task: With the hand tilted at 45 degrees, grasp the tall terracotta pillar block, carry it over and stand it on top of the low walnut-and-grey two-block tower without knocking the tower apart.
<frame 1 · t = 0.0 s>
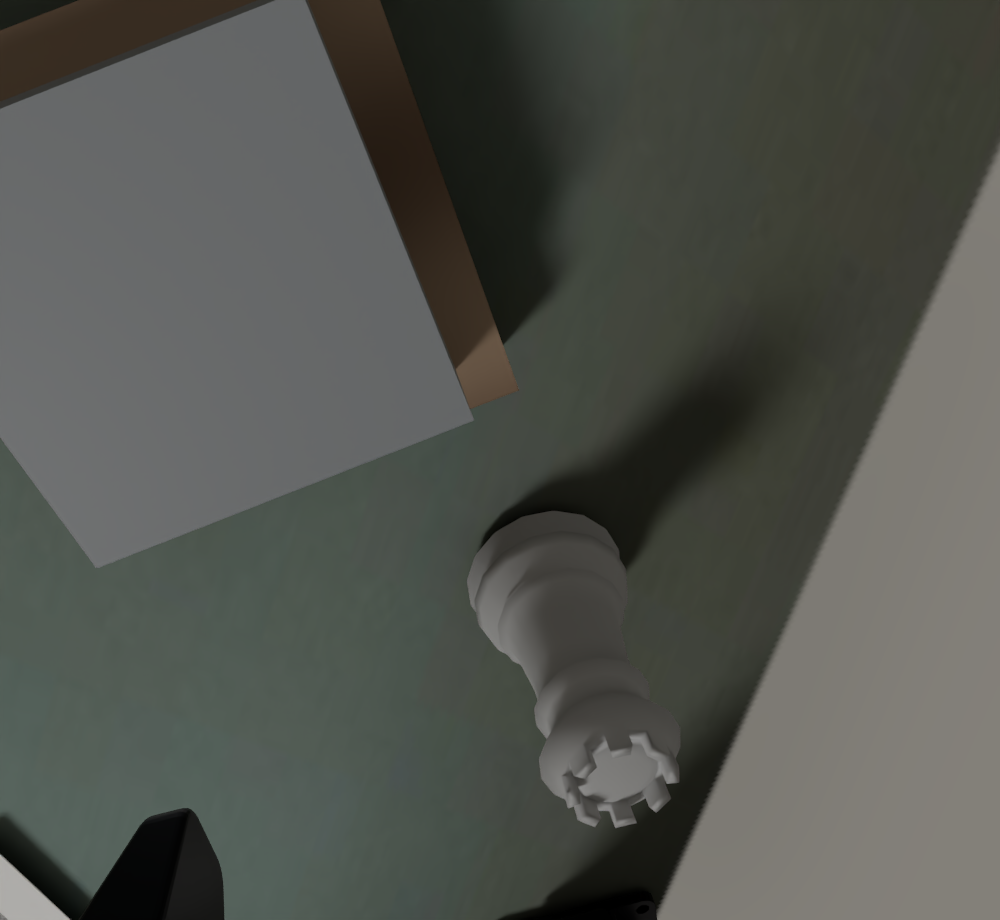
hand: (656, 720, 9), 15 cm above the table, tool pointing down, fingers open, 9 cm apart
tower top: (198, 272, 18), point 2 cm above the table, touching tower base
rook chess piece: (539, 563, 27), on the table
tower base: (219, 228, 21), on the table, touching tower top
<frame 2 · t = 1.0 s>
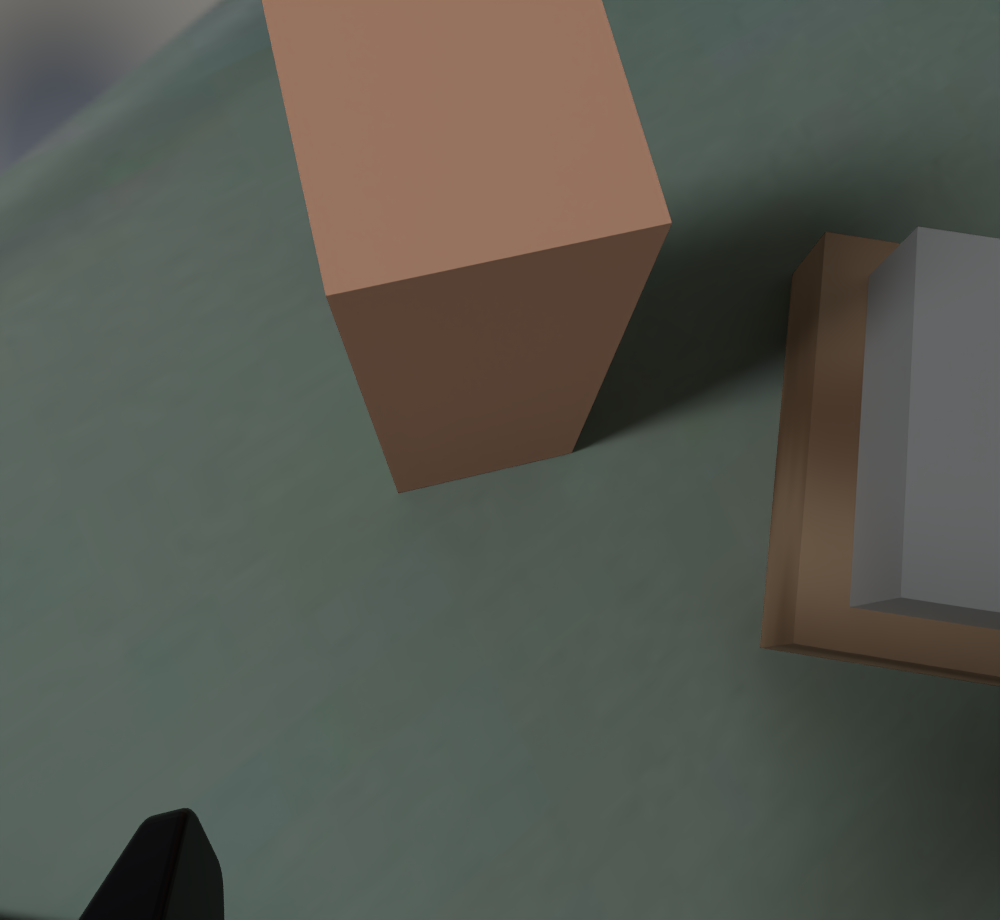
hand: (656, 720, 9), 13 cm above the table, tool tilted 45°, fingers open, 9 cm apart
pillar: (465, 390, 24), on the table
tower base: (958, 487, 24), on the table, touching tower top
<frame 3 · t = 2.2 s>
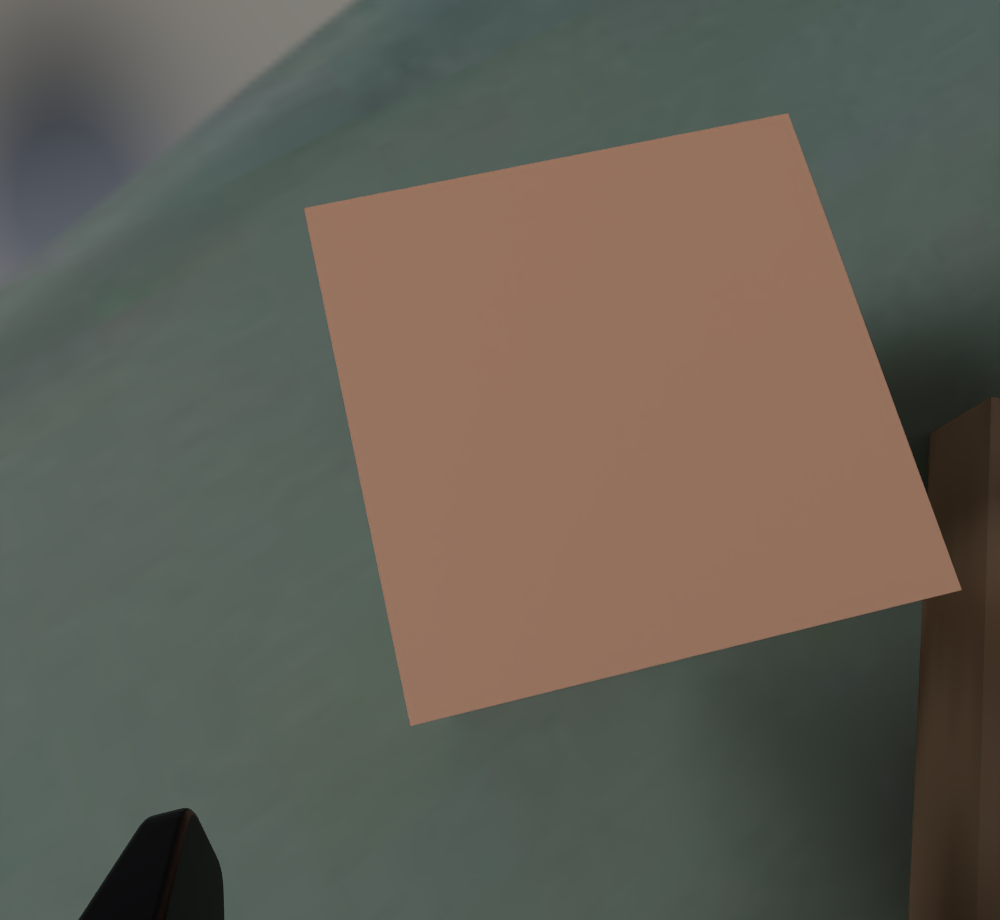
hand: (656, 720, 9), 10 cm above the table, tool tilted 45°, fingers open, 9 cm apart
pillar: (532, 581, 19), on the table
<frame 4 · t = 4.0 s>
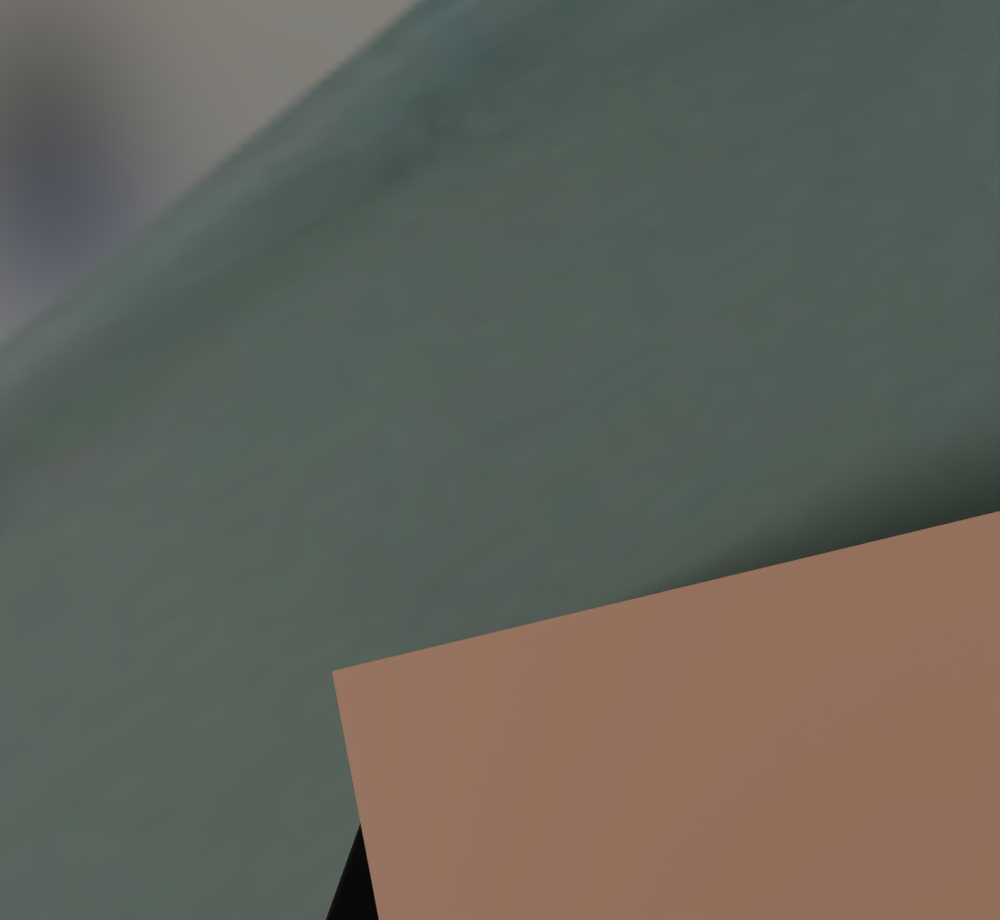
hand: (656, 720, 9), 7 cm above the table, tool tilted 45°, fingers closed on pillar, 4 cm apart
pillar: (602, 797, 15), on the table, touching gripper
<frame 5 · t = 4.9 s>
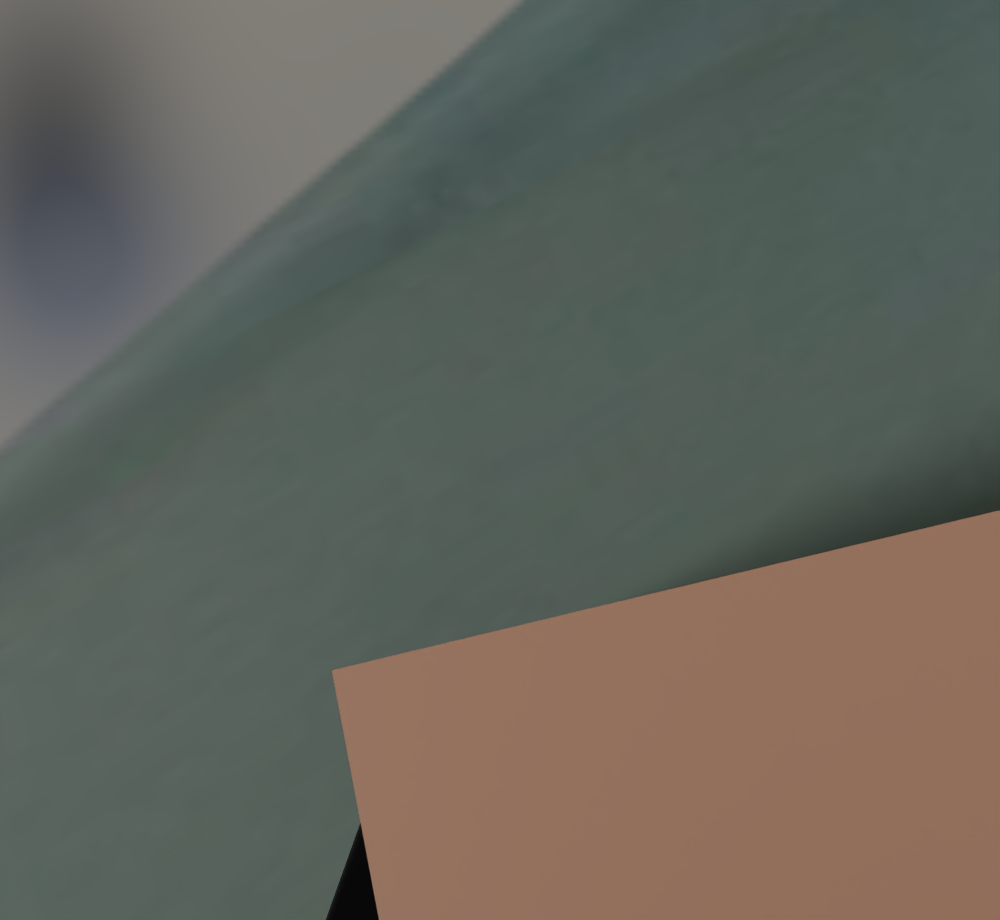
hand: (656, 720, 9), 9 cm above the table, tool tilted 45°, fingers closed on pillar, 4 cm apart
pillar: (601, 797, 15), point 3 cm above the table, touching gripper
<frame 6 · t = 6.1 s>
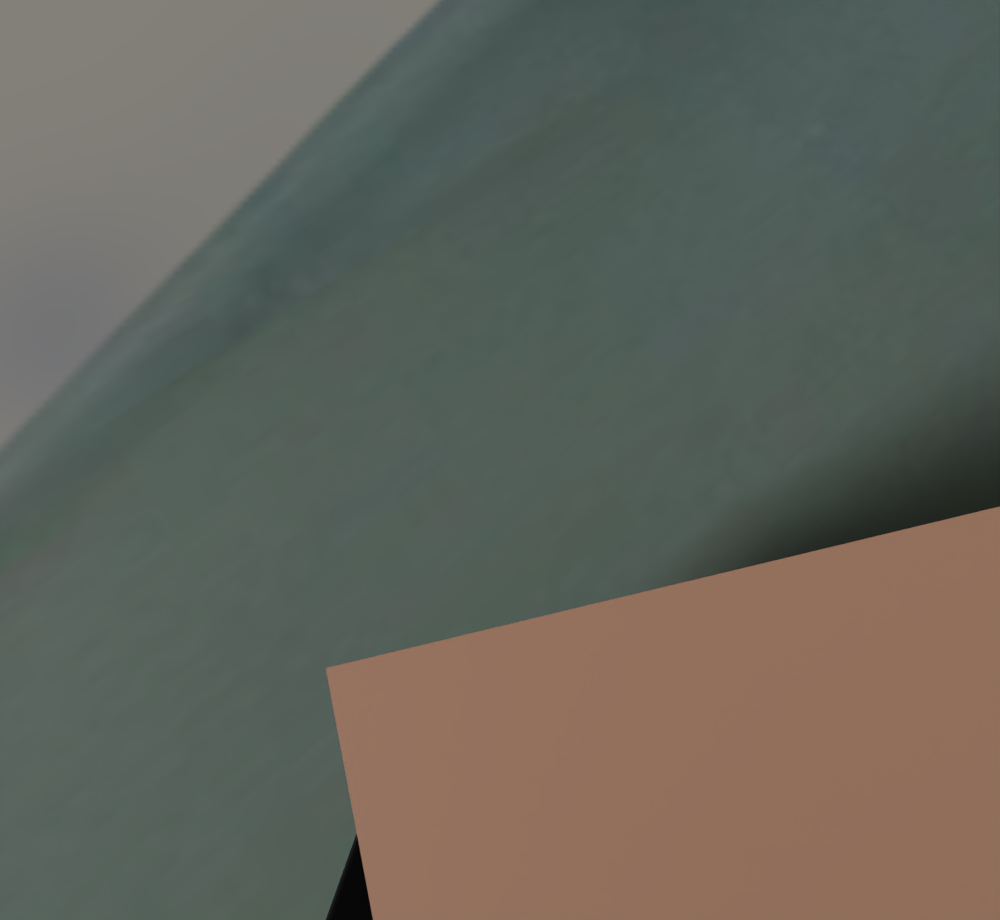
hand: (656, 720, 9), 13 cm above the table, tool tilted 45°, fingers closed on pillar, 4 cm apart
pillar: (600, 797, 15), point 7 cm above the table, touching gripper
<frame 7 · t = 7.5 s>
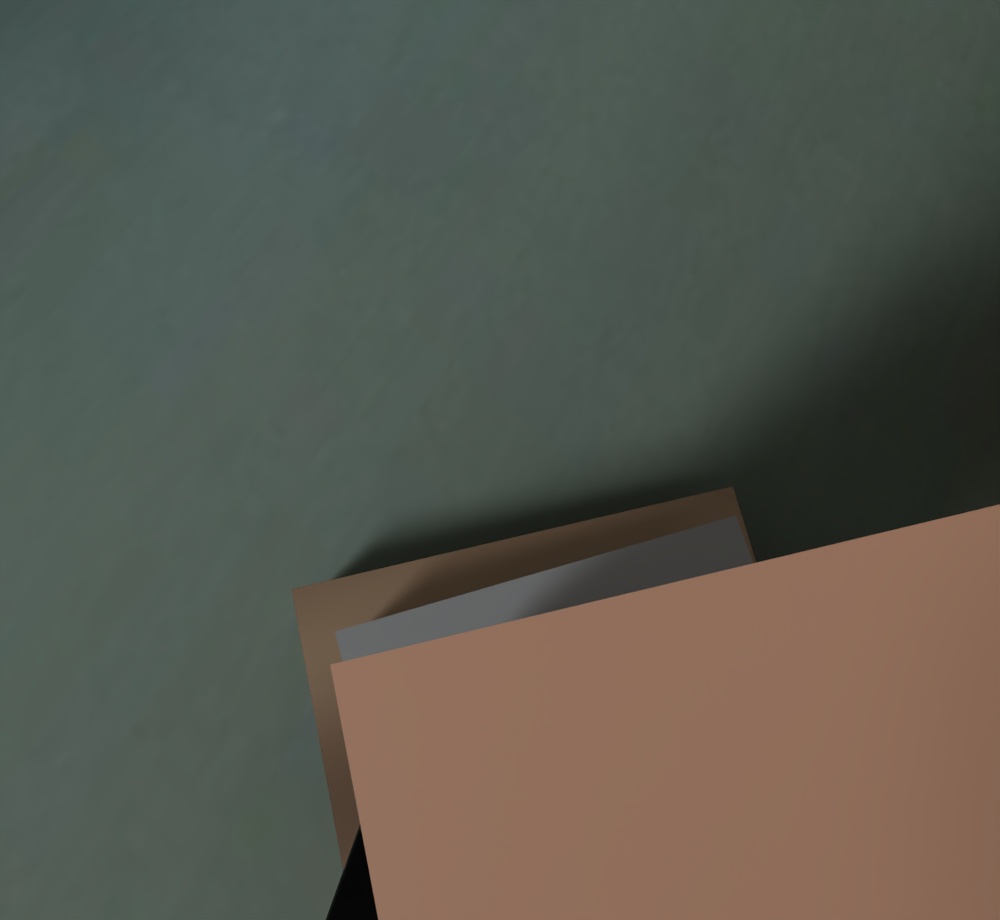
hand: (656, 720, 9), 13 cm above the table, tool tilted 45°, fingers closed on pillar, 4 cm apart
pillar: (601, 796, 15), point 6 cm above the table, touching gripper
tower top: (587, 773, 19), point 2 cm above the table
tower base: (560, 759, 22), on the table
when the fingers open (13 cm above the table, at t = 7.8 s): pillar drops 1 cm, point 5 cm above the table.
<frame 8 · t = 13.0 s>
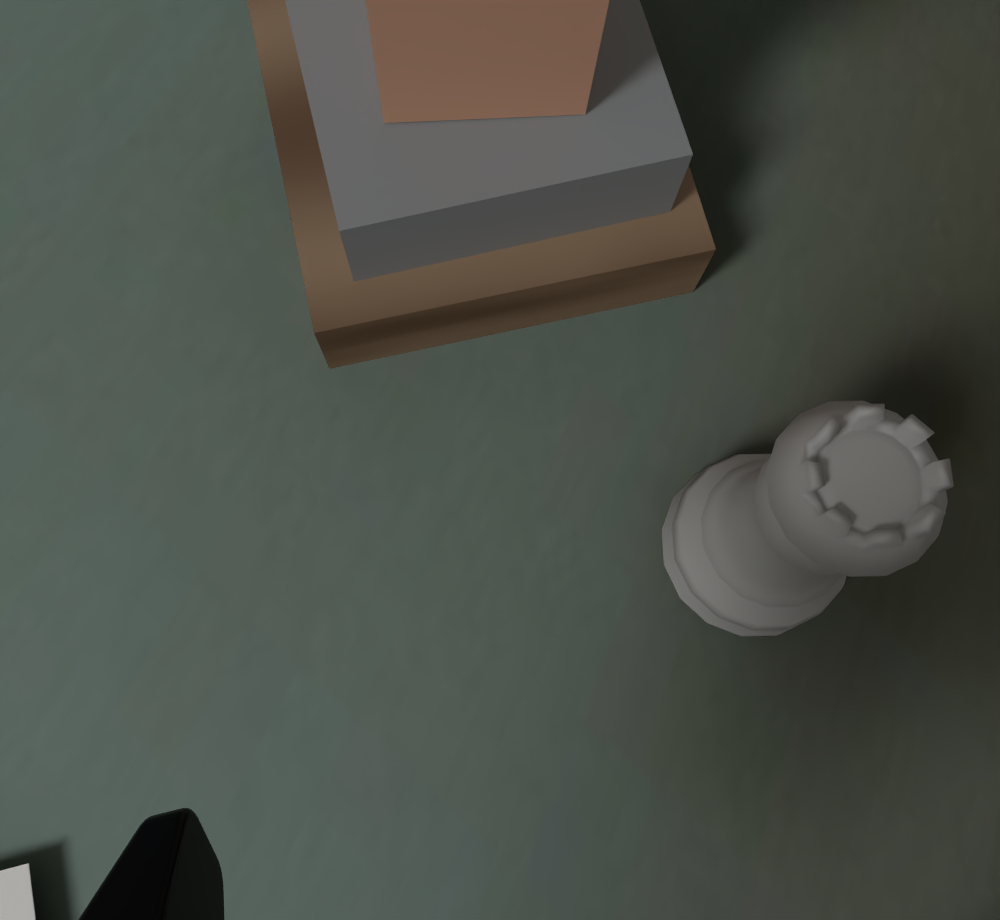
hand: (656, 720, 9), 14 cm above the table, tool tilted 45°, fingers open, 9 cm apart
pillar: (478, 31, 21), point 5 cm above the table
tower top: (474, 107, 24), point 2 cm above the table, touching tower base
rook chess piece: (743, 550, 24), on the table
tower base: (472, 177, 26), on the table, touching tower top
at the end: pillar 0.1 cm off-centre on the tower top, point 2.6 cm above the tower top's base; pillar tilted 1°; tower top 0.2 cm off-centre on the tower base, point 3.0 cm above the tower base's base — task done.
